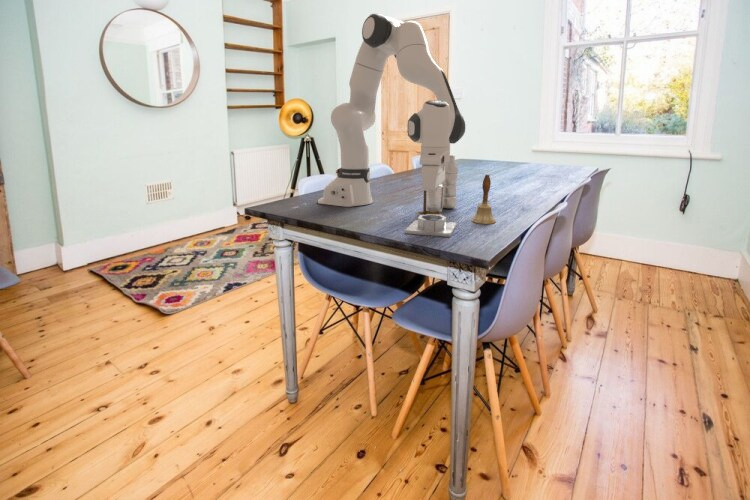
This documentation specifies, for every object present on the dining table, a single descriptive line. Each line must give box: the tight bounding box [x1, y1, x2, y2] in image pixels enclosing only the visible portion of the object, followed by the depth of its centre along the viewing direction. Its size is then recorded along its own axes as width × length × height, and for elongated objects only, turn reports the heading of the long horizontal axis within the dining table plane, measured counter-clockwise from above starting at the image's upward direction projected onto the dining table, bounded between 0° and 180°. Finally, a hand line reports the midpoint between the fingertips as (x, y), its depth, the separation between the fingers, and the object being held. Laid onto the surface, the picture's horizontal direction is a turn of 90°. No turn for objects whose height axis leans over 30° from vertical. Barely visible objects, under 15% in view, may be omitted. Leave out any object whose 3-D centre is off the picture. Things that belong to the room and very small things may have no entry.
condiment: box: [414, 190, 444, 217], centre depth 166 cm, size 7×8×12 cm
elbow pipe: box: [426, 184, 444, 212], centre depth 144 cm, size 5×5×8 cm
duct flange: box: [404, 214, 458, 238], centre depth 146 cm, size 14×14×4 cm
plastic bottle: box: [442, 154, 459, 210], centre depth 174 cm, size 6×7×20 cm
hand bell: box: [470, 174, 497, 225], centre depth 155 cm, size 8×8×16 cm
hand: (434, 200), depth 144 cm, fingers closed on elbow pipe, 5 cm apart
